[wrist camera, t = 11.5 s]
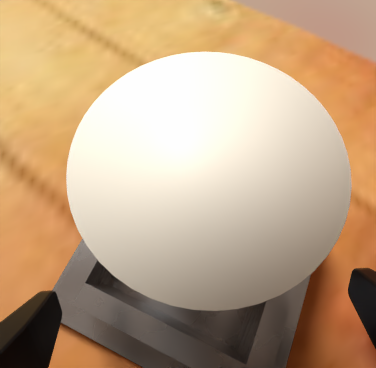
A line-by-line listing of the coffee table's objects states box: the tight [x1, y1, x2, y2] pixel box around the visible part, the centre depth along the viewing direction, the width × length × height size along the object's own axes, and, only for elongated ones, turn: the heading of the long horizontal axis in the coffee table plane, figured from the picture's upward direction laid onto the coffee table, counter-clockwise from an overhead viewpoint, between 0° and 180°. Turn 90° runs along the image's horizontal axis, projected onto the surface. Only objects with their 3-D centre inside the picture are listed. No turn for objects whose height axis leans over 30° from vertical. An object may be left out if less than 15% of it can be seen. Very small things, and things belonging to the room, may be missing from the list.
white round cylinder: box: [66, 52, 352, 311], centre depth 10 cm, size 5×5×12 cm
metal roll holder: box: [52, 239, 311, 368], centre depth 15 cm, size 13×13×4 cm
